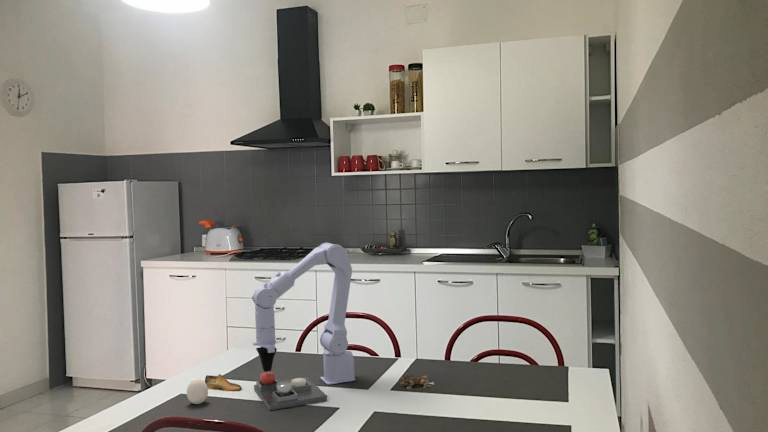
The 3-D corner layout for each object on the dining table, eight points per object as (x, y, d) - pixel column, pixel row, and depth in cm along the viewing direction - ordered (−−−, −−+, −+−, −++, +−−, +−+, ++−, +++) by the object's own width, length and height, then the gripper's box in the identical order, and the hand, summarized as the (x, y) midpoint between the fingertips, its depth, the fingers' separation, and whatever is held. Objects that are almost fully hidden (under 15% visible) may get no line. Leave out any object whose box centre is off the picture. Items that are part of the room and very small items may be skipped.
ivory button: (303, 385, 201) (303, 377, 201) (307, 389, 197) (307, 381, 197) (289, 387, 199) (289, 379, 199) (293, 391, 195) (293, 383, 195)
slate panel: (306, 381, 210) (306, 372, 210) (327, 400, 190) (326, 390, 190) (254, 389, 203) (253, 380, 203) (269, 410, 184) (269, 400, 184)
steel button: (290, 389, 192) (289, 381, 192) (294, 393, 188) (293, 385, 188) (275, 391, 191) (274, 383, 190) (279, 396, 187) (278, 387, 186)
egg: (209, 399, 196) (208, 374, 195) (207, 406, 190) (206, 380, 189) (188, 401, 195) (187, 376, 194) (186, 408, 189) (184, 382, 188)
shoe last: (236, 393, 202) (236, 378, 201) (202, 388, 207) (201, 373, 207) (245, 389, 205) (245, 374, 205) (211, 384, 211) (210, 370, 211)
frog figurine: (406, 394, 195) (406, 382, 195) (391, 383, 206) (391, 371, 206) (441, 388, 199) (440, 376, 199) (424, 378, 210) (424, 366, 210)
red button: (273, 379, 203) (273, 371, 203) (276, 382, 199) (276, 374, 199) (259, 381, 201) (259, 373, 201) (262, 385, 197) (262, 377, 197)
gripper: (247, 323, 204) (249, 366, 205) (257, 333, 191) (259, 378, 192) (269, 321, 207) (271, 363, 208) (281, 330, 194) (282, 375, 194)
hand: (267, 370), depth 200 cm, fingers closed
